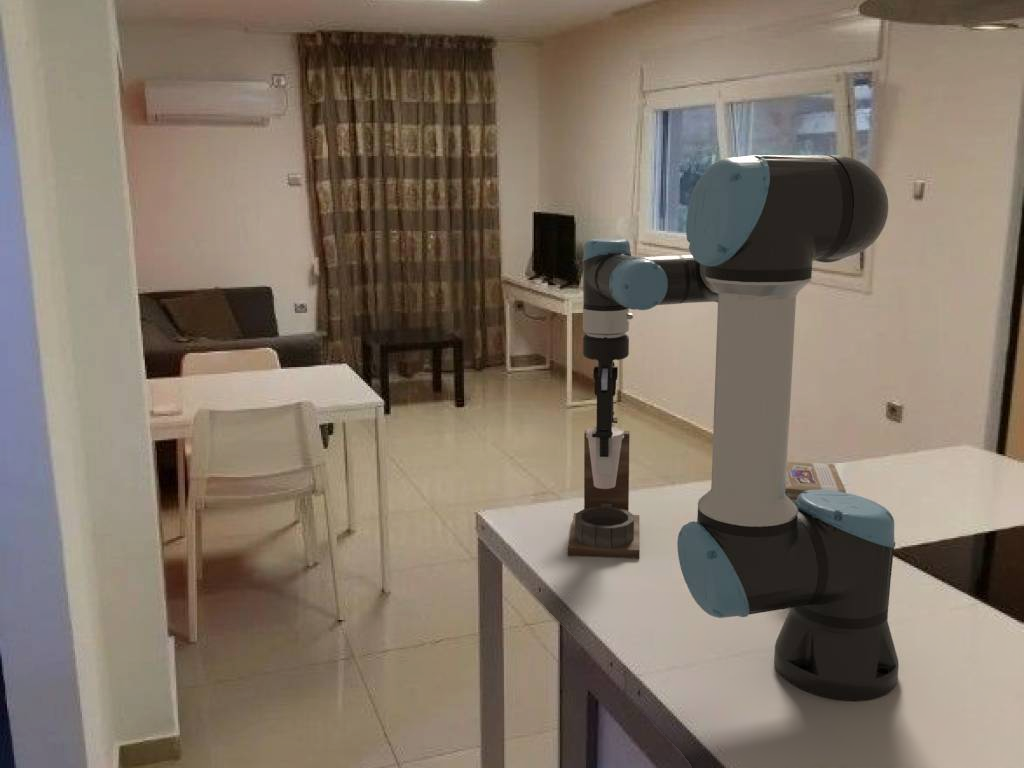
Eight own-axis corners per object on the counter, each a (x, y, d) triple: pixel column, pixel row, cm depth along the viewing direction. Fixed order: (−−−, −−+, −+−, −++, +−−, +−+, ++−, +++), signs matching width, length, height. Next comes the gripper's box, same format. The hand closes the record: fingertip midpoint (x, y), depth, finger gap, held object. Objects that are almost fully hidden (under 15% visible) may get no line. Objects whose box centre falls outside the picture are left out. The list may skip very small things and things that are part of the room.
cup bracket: (639, 558, 155) (641, 458, 151) (567, 555, 156) (567, 456, 152) (639, 522, 170) (640, 431, 166) (574, 520, 172) (573, 429, 168)
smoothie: (579, 488, 157) (580, 408, 154) (594, 476, 163) (595, 399, 159) (615, 493, 154) (616, 412, 151) (628, 482, 160) (630, 403, 156)
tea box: (841, 580, 145) (848, 491, 142) (775, 576, 147) (780, 488, 144) (829, 543, 160) (835, 461, 156) (769, 539, 162) (773, 458, 158)
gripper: (628, 345, 142) (626, 486, 148) (629, 323, 161) (627, 450, 166) (579, 344, 143) (579, 485, 149) (586, 323, 162) (585, 449, 167)
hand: (604, 466), depth 158 cm, fingers closed on smoothie, 6 cm apart
